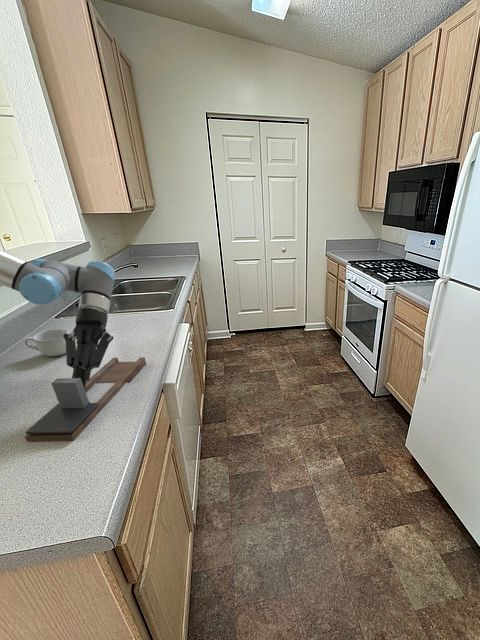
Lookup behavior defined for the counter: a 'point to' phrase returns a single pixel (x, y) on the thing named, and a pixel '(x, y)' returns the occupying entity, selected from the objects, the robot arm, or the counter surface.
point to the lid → (65, 408)
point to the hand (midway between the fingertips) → (78, 392)
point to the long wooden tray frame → (107, 374)
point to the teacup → (49, 342)
